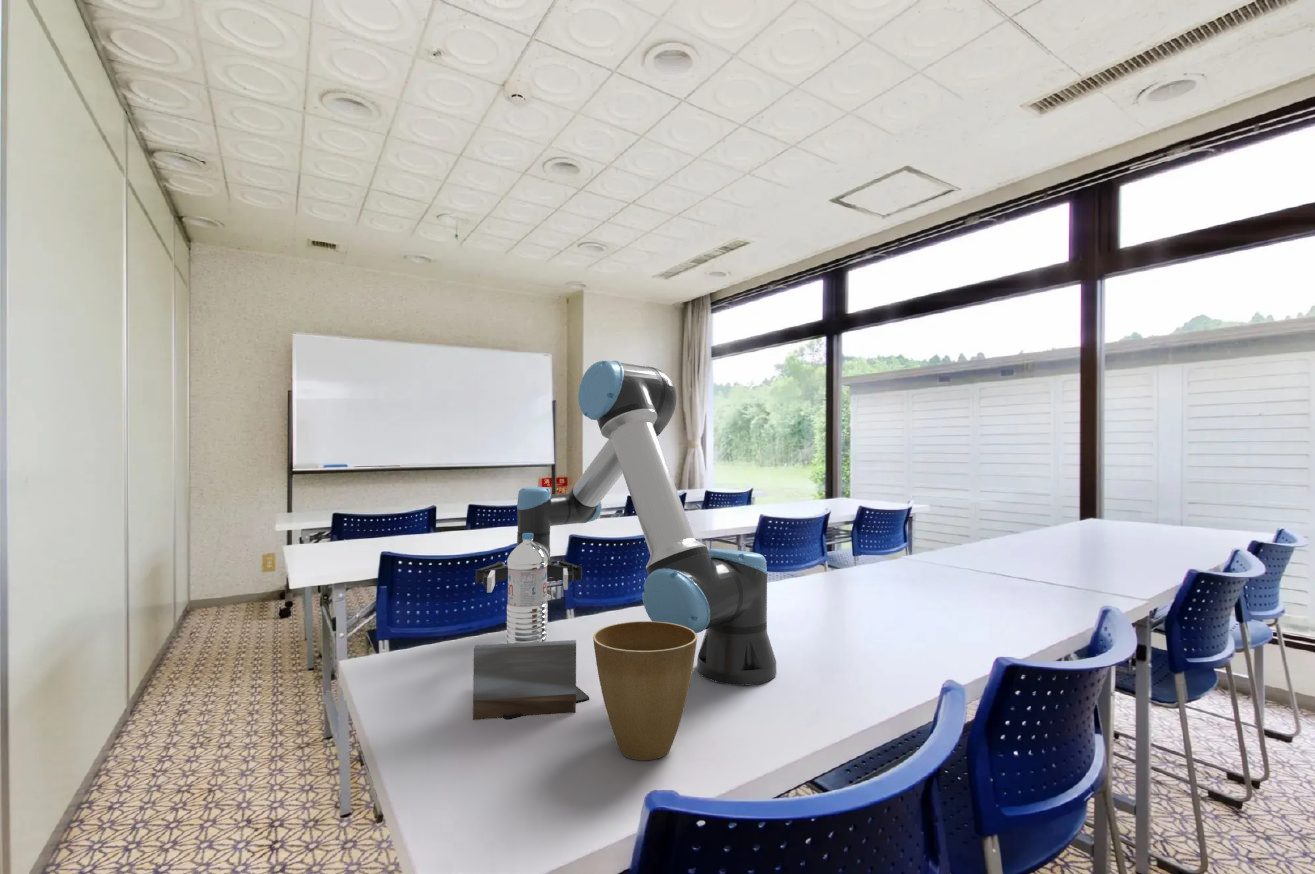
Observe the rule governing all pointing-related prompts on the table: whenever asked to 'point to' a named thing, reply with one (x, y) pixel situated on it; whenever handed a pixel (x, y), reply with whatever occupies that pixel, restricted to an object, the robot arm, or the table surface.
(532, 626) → the water bottle
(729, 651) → the robot arm
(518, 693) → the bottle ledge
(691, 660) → the plant pot
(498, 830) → the table surface
